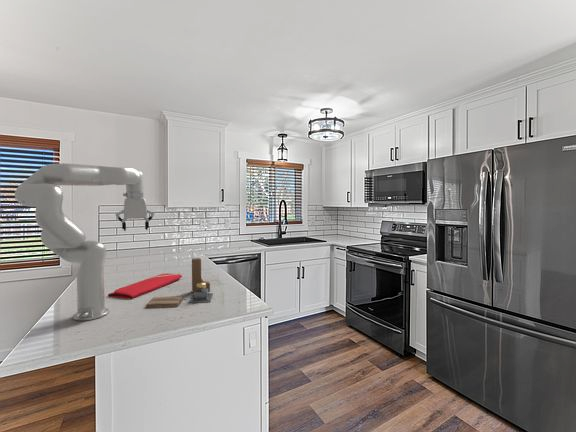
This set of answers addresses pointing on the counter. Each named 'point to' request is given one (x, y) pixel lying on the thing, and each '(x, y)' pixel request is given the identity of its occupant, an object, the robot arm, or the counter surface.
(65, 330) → the counter surface
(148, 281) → the dish drying mat
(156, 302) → the board
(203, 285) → the button
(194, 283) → the wooden block
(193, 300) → the plate
